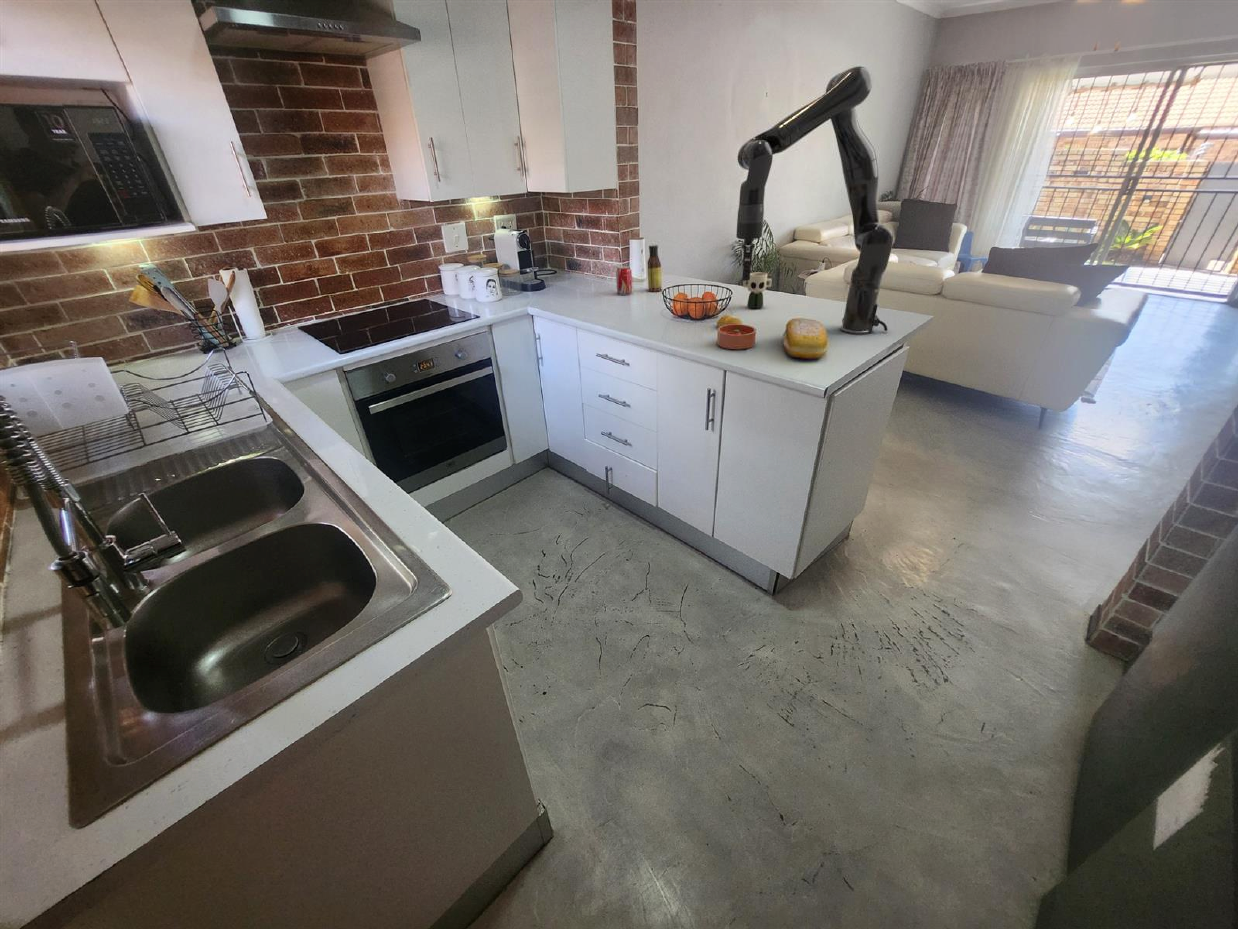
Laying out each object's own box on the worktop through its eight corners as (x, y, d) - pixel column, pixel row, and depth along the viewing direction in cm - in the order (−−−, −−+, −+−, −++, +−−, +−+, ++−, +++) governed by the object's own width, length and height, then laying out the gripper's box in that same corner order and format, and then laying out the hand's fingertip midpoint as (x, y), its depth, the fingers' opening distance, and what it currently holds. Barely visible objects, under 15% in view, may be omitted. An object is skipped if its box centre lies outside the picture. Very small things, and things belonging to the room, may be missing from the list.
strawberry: (741, 341, 168) (742, 329, 166) (740, 344, 165) (741, 332, 163) (730, 341, 169) (731, 328, 167) (730, 344, 166) (731, 331, 164)
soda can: (615, 293, 237) (613, 266, 231) (629, 291, 239) (628, 264, 232) (619, 296, 231) (618, 268, 225) (634, 294, 233) (633, 267, 226)
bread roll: (732, 332, 178) (733, 321, 176) (713, 327, 184) (713, 316, 182) (747, 327, 183) (748, 316, 181) (727, 322, 189) (728, 311, 187)
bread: (784, 361, 152) (788, 335, 148) (778, 334, 174) (781, 311, 170) (831, 363, 149) (836, 336, 145) (819, 335, 171) (823, 311, 167)
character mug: (741, 309, 203) (744, 276, 196) (741, 305, 209) (743, 272, 202) (769, 309, 201) (773, 275, 194) (768, 305, 207) (771, 272, 200)
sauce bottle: (664, 289, 238) (664, 244, 228) (657, 292, 234) (657, 246, 224) (651, 288, 242) (651, 243, 231) (645, 291, 237) (644, 245, 227)
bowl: (754, 339, 171) (756, 324, 168) (754, 351, 161) (755, 335, 158) (718, 338, 174) (719, 323, 171) (715, 349, 164) (716, 334, 161)
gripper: (763, 222, 143) (758, 282, 151) (763, 217, 154) (758, 272, 163) (736, 223, 144) (733, 282, 153) (737, 217, 156) (734, 272, 164)
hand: (746, 277), depth 158 cm, fingers open, 8 cm apart
